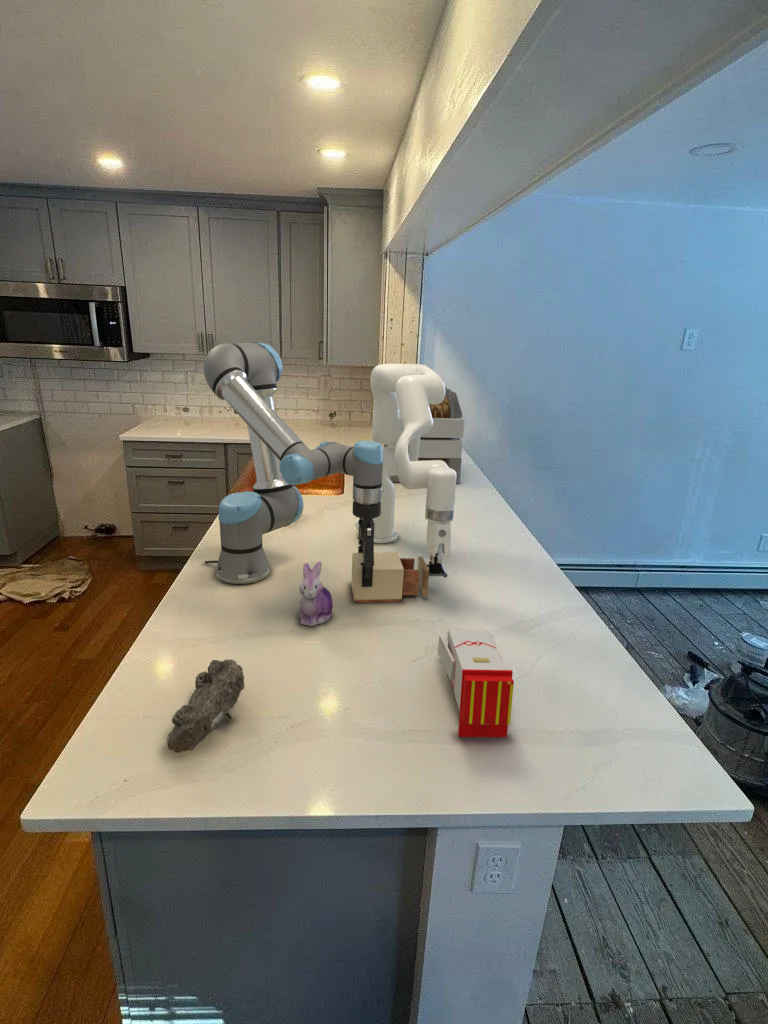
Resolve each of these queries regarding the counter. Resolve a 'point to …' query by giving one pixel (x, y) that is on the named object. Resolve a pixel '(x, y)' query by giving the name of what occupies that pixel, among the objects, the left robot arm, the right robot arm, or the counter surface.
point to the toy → (478, 682)
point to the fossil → (206, 705)
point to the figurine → (314, 598)
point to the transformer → (442, 435)
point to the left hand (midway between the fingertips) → (364, 576)
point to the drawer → (417, 576)
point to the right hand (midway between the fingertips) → (434, 575)
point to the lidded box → (378, 579)
